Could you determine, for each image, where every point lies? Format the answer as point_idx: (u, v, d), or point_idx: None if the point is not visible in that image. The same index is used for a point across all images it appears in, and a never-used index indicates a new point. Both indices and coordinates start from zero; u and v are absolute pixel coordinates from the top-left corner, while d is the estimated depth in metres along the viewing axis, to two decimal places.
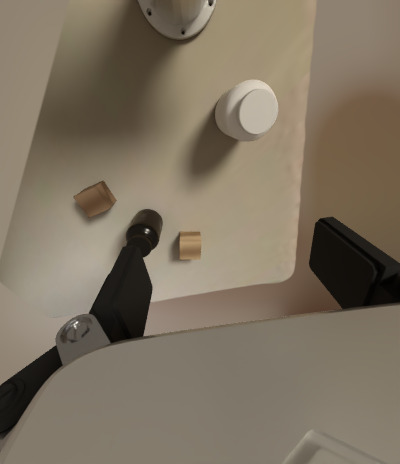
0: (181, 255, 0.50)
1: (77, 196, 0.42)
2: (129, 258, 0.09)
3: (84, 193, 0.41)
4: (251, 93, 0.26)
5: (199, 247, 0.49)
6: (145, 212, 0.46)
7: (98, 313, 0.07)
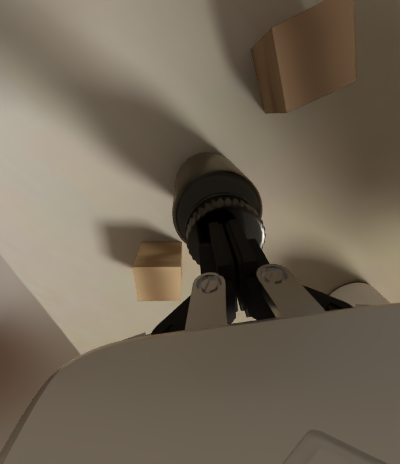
0: (144, 270, 0.22)
1: (349, 5, 0.13)
2: (220, 231, 0.10)
3: (350, 38, 0.14)
4: None
5: (167, 298, 0.24)
6: None
7: (219, 272, 0.08)
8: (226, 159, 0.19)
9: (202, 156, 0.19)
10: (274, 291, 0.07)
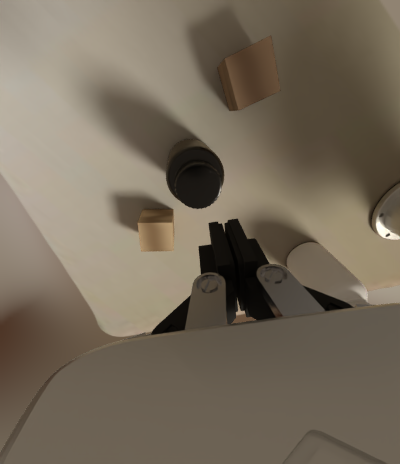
0: (145, 225, 0.30)
1: (270, 45, 0.21)
2: (220, 231, 0.10)
3: (273, 64, 0.22)
4: None
5: (163, 249, 0.32)
6: None
7: (219, 272, 0.08)
8: (202, 142, 0.27)
9: (186, 140, 0.27)
10: (274, 291, 0.07)
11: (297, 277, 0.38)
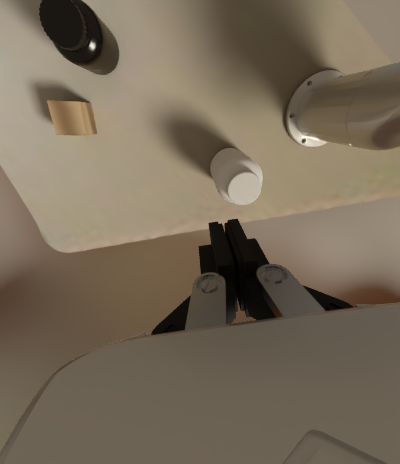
0: (55, 103, 0.33)
1: None
2: (220, 231, 0.10)
3: None
4: (259, 181, 0.31)
5: (76, 133, 0.36)
6: (115, 46, 0.32)
7: (219, 272, 0.08)
8: None
9: None
10: (274, 291, 0.07)
11: (212, 176, 0.40)
